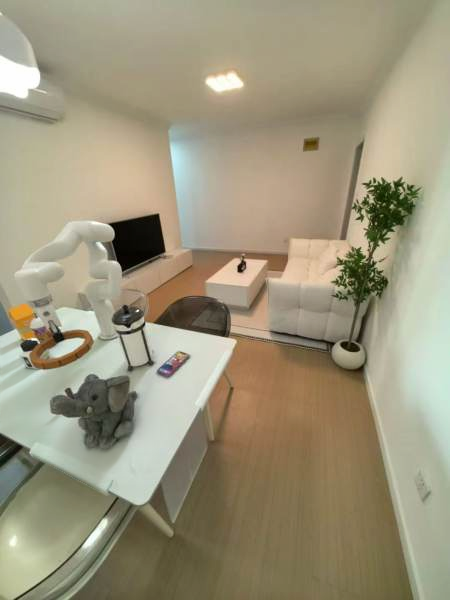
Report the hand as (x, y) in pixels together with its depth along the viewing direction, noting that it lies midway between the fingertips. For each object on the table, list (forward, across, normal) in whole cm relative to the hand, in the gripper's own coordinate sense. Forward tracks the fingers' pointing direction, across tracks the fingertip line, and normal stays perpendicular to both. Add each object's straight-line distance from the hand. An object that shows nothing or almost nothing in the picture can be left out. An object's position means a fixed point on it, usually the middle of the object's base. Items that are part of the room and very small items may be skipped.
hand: (59, 339), depth 95 cm
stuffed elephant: (+18, -39, -3) cm, 43 cm away
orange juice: (+19, +53, +11) cm, 57 cm away
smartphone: (+19, -28, -34) cm, 48 cm away
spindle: (+18, -17, +5) cm, 25 cm away
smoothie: (+19, +35, +5) cm, 40 cm away
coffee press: (+19, -13, -24) cm, 34 cm away
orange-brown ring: (+1, -9, 0) cm, 9 cm away
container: (+19, +21, +11) cm, 30 cm away
